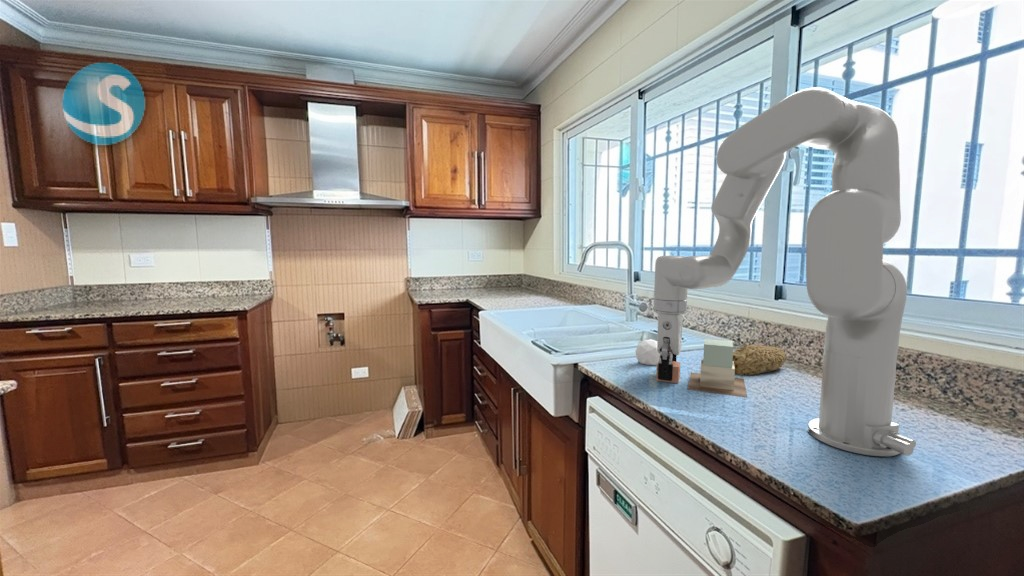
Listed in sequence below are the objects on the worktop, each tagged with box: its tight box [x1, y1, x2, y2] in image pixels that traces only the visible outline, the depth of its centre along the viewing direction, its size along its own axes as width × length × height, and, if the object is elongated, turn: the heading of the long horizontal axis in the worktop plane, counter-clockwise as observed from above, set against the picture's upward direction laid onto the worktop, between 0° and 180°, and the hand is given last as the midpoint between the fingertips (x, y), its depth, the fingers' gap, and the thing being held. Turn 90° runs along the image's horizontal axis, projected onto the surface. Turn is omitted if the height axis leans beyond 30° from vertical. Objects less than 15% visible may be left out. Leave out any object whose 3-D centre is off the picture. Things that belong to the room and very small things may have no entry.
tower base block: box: [700, 357, 736, 391], centre depth 97 cm, size 7×7×5 cm
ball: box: [635, 339, 660, 366], centre depth 115 cm, size 8×8×8 cm
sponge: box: [733, 344, 787, 376], centre depth 111 cm, size 13×8×20 cm
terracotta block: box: [655, 361, 681, 384], centre depth 101 cm, size 5×5×5 cm
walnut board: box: [687, 371, 748, 399], centre depth 97 cm, size 14×12×1 cm
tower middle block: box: [702, 338, 734, 368], centre depth 96 cm, size 6×6×5 cm
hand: (667, 374), depth 101 cm, fingers open, 9 cm apart
